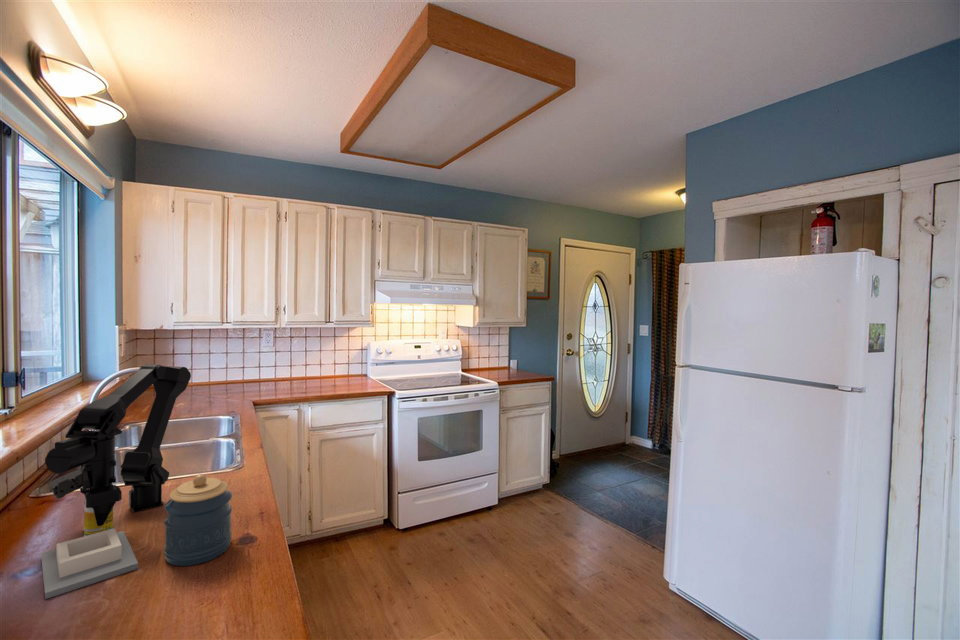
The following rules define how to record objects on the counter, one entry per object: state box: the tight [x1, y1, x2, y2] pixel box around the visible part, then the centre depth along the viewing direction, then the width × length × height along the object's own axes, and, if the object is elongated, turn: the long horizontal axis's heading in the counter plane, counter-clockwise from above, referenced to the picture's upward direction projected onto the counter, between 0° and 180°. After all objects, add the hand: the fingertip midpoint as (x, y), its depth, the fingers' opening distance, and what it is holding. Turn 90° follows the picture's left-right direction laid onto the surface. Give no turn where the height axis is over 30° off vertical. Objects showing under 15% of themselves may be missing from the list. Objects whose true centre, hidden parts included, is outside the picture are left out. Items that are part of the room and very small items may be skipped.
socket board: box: [40, 527, 139, 600], centre depth 94 cm, size 14×18×4 cm
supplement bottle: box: [83, 505, 114, 537], centre depth 106 cm, size 5×5×10 cm
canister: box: [163, 474, 233, 567], centre depth 100 cm, size 13×13×18 cm
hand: (98, 521), depth 106 cm, fingers closed on supplement bottle, 5 cm apart
